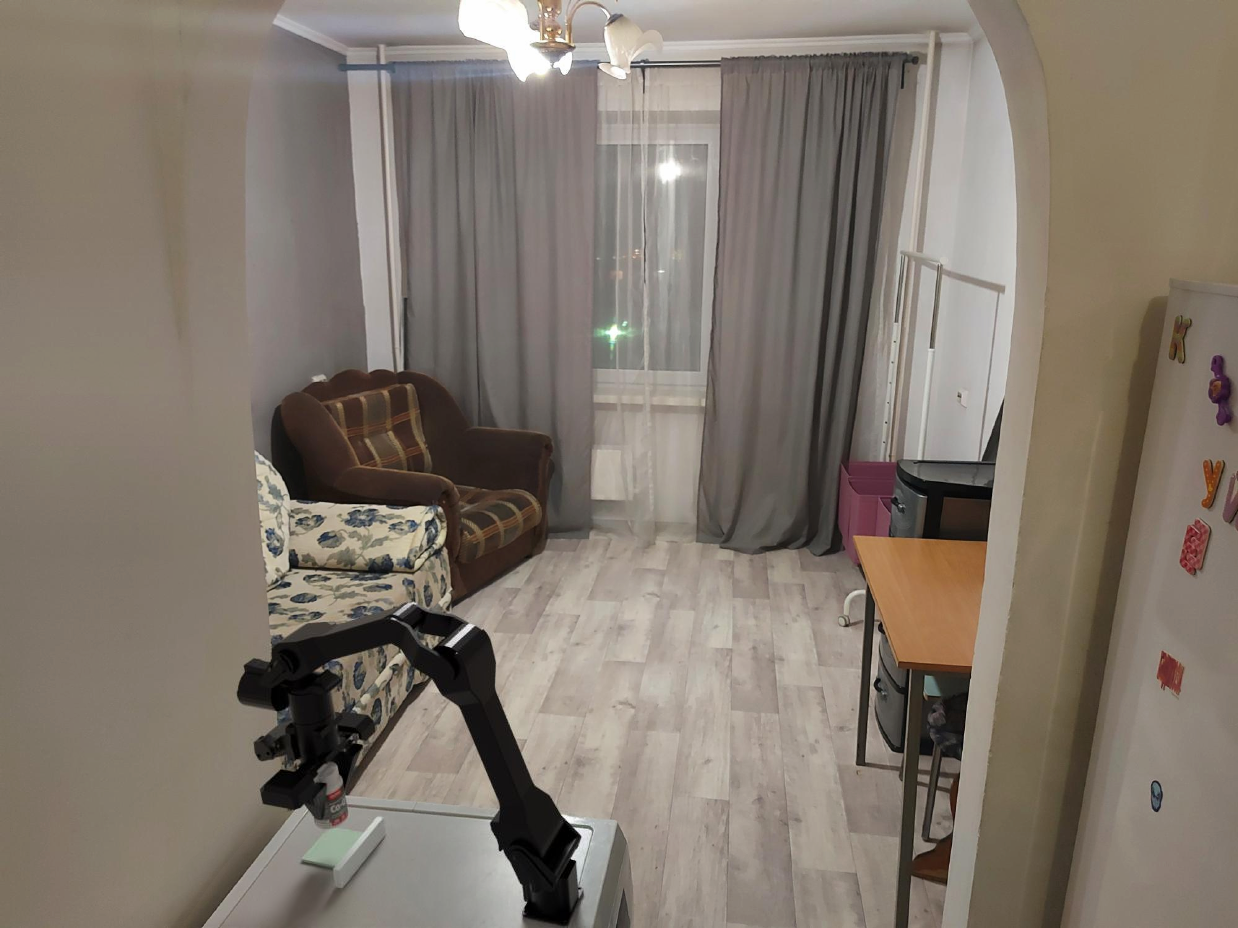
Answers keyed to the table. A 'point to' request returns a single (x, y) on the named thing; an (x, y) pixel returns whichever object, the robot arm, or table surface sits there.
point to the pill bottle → (333, 798)
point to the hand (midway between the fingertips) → (330, 807)
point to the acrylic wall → (359, 852)
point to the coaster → (331, 847)
